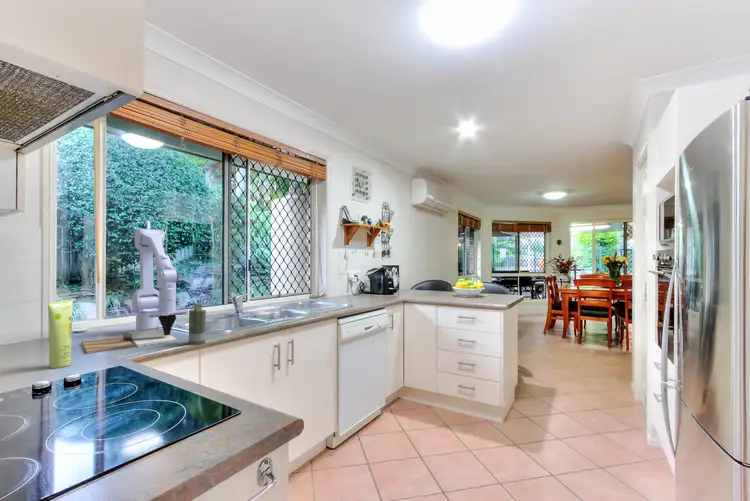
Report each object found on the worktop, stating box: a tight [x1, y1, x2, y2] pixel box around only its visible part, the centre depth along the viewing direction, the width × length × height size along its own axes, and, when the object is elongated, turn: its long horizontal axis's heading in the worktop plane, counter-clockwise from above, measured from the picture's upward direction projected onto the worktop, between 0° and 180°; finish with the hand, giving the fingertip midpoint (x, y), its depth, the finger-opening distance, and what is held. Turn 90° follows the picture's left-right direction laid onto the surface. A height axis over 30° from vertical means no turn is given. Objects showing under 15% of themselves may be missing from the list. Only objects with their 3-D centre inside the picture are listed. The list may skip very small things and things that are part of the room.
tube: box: [47, 298, 74, 369], centre depth 111 cm, size 6×5×20 cm
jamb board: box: [81, 335, 135, 355], centre depth 137 cm, size 18×14×1 cm
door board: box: [131, 326, 178, 347], centre depth 146 cm, size 18×13×3 cm
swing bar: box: [122, 328, 165, 340], centre depth 144 cm, size 14×4×3 cm, turn 119°
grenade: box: [187, 302, 207, 346], centre depth 141 cm, size 6×6×15 cm
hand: (167, 334), depth 146 cm, fingers closed
